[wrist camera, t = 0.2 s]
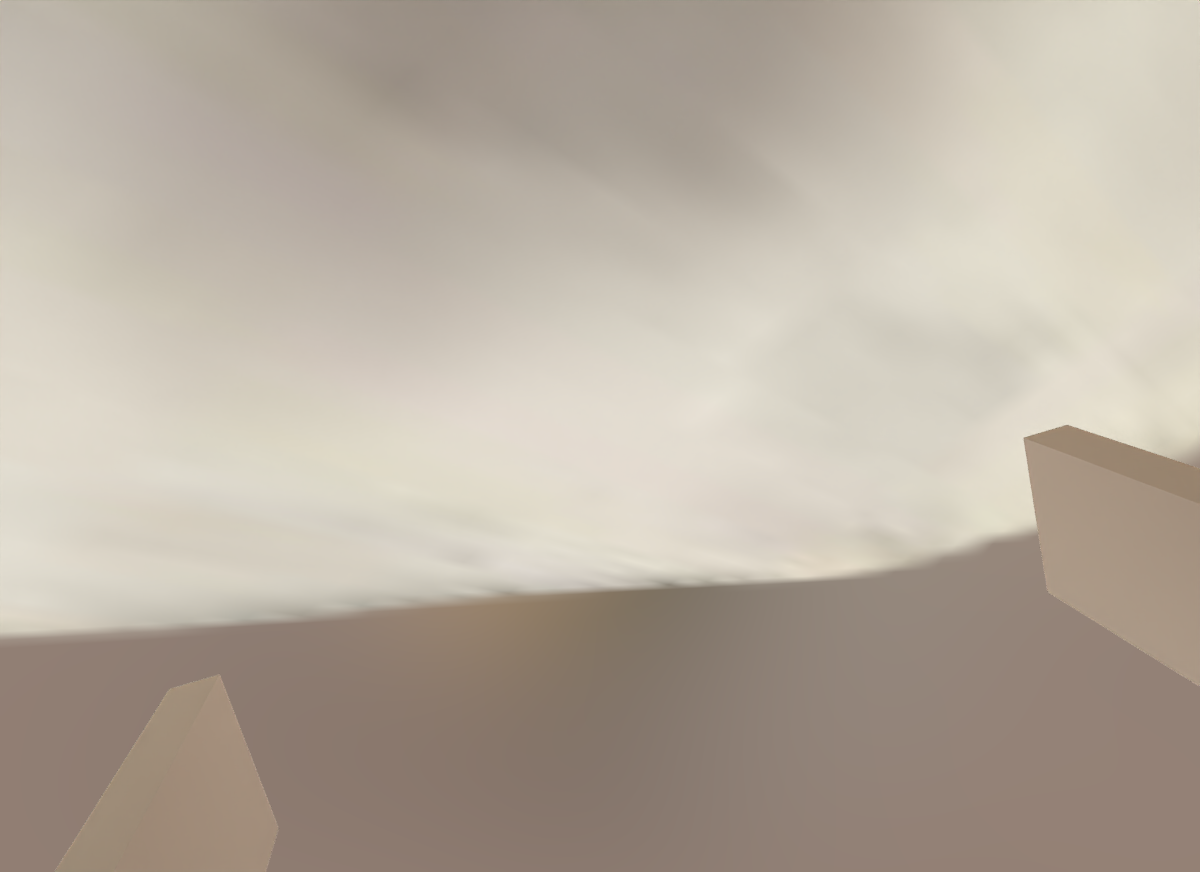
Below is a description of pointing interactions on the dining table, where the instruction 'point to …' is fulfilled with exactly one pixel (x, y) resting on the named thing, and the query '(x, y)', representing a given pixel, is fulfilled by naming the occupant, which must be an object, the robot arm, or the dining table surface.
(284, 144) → the dining table surface
